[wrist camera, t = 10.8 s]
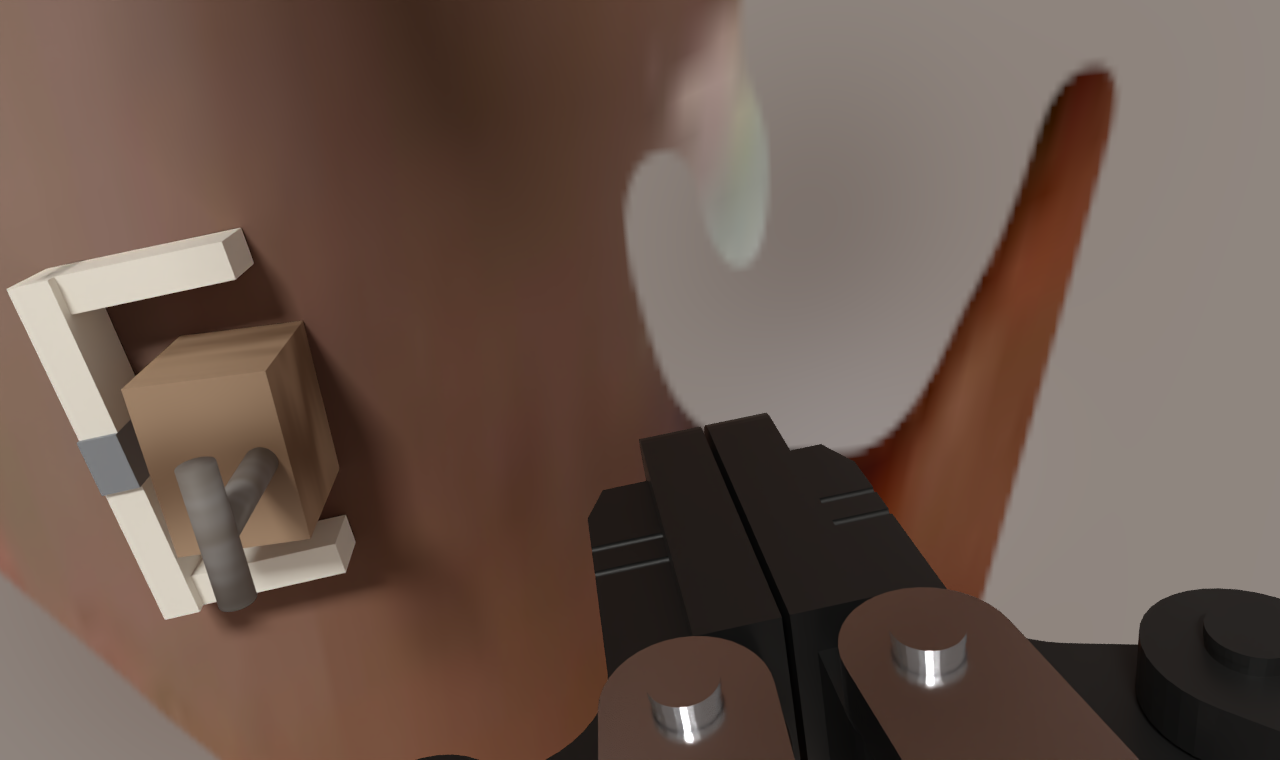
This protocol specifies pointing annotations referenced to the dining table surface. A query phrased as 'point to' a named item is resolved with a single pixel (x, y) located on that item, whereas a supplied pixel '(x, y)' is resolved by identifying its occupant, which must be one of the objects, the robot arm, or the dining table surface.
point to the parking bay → (92, 398)
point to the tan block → (235, 446)
